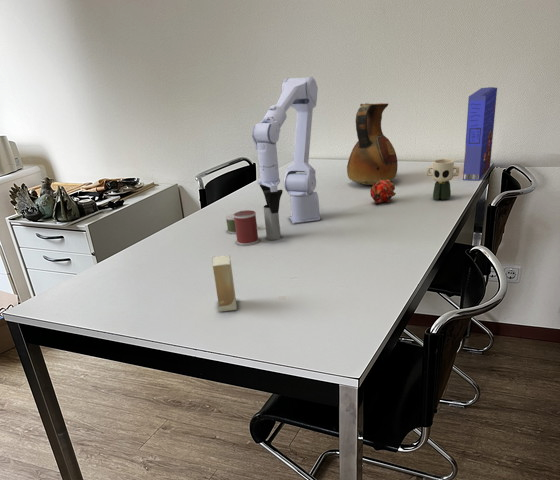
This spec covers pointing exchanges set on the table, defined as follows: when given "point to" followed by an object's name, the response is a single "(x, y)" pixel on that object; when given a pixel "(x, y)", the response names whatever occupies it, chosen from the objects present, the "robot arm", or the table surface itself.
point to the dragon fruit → (382, 191)
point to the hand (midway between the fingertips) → (272, 209)
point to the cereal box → (479, 133)
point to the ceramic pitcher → (371, 148)
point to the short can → (231, 223)
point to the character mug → (442, 177)
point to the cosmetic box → (224, 283)
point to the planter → (271, 224)
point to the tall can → (246, 227)
